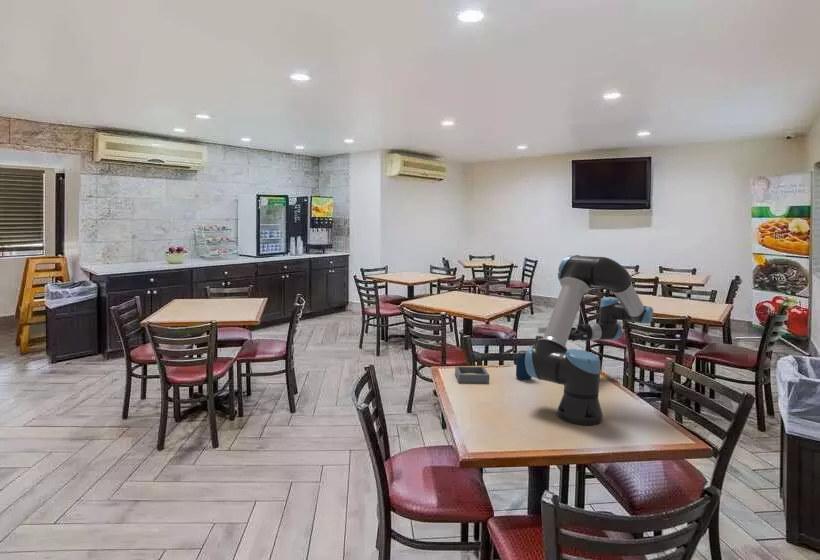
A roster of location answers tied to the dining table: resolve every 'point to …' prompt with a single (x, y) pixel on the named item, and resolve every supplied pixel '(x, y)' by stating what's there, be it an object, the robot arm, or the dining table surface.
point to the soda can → (521, 366)
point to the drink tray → (471, 374)
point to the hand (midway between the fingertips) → (545, 333)
